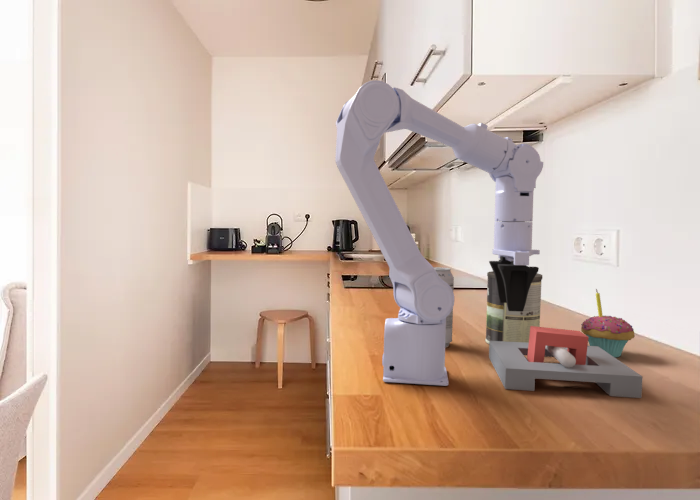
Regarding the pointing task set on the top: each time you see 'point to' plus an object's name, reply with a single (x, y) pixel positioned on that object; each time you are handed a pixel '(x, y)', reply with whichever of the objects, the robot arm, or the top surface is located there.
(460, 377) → the top surface
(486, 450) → the top surface
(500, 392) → the top surface
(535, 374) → the grey frame with dowel
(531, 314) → the coffee can
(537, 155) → the robot arm
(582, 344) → the red arch block
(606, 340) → the cupcake
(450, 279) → the energy drink can
